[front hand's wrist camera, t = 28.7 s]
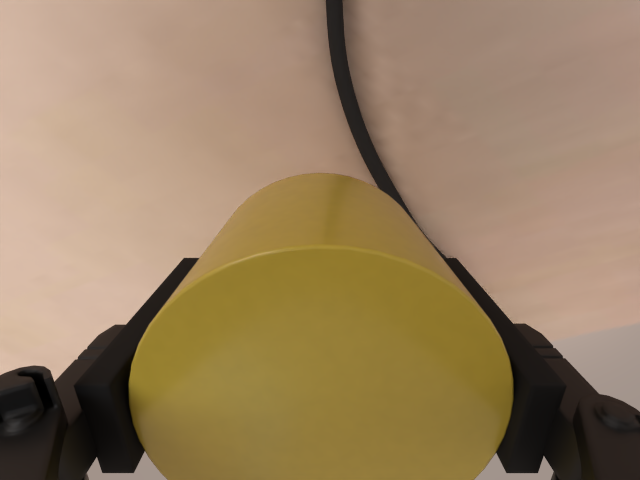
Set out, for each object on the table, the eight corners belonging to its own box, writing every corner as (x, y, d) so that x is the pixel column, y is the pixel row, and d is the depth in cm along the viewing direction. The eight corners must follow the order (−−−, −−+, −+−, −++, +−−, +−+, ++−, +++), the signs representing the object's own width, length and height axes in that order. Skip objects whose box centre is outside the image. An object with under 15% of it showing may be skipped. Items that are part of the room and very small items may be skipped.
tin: (450, 323, 16) (547, 487, 9) (272, 384, 17) (242, 568, 10) (384, 133, 13) (456, 170, 6) (174, 226, 14) (41, 339, 7)
